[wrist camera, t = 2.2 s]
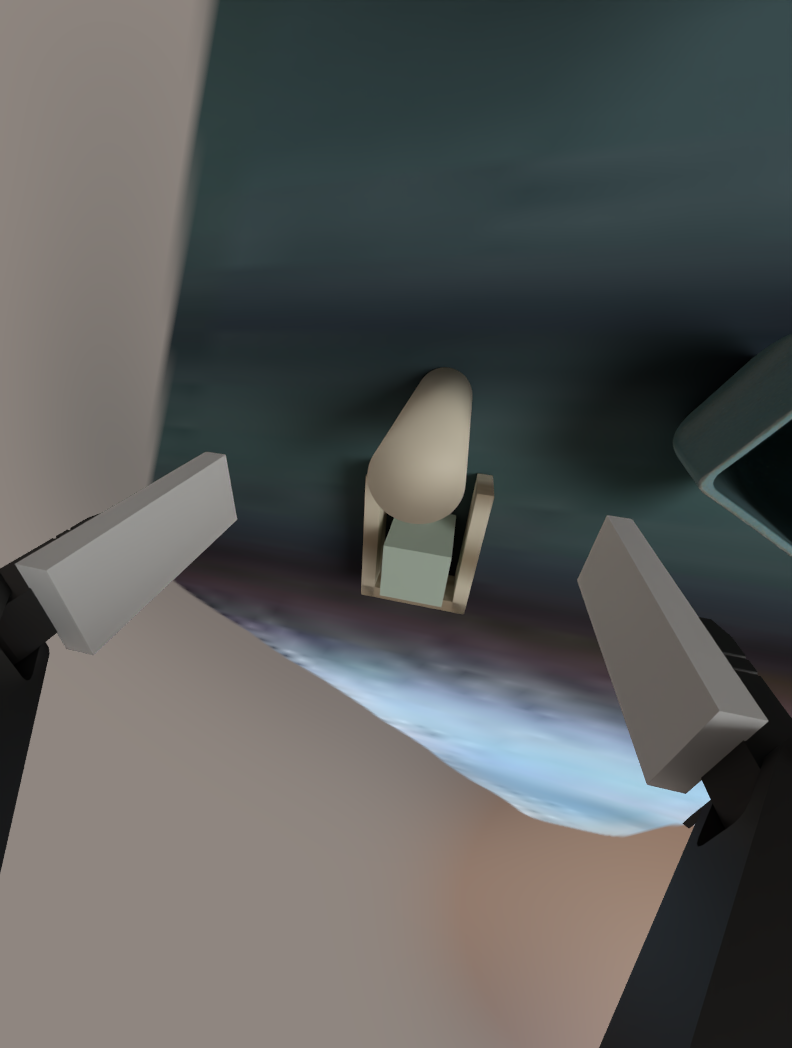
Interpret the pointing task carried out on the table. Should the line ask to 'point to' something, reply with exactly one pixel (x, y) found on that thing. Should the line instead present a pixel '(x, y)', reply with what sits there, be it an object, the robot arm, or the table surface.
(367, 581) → the beige u-shaped frame
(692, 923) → the robot arm
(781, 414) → the flower pot
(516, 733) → the table surface
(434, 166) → the table surface
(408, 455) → the beige teardrop-shaped paddle
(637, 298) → the table surface
